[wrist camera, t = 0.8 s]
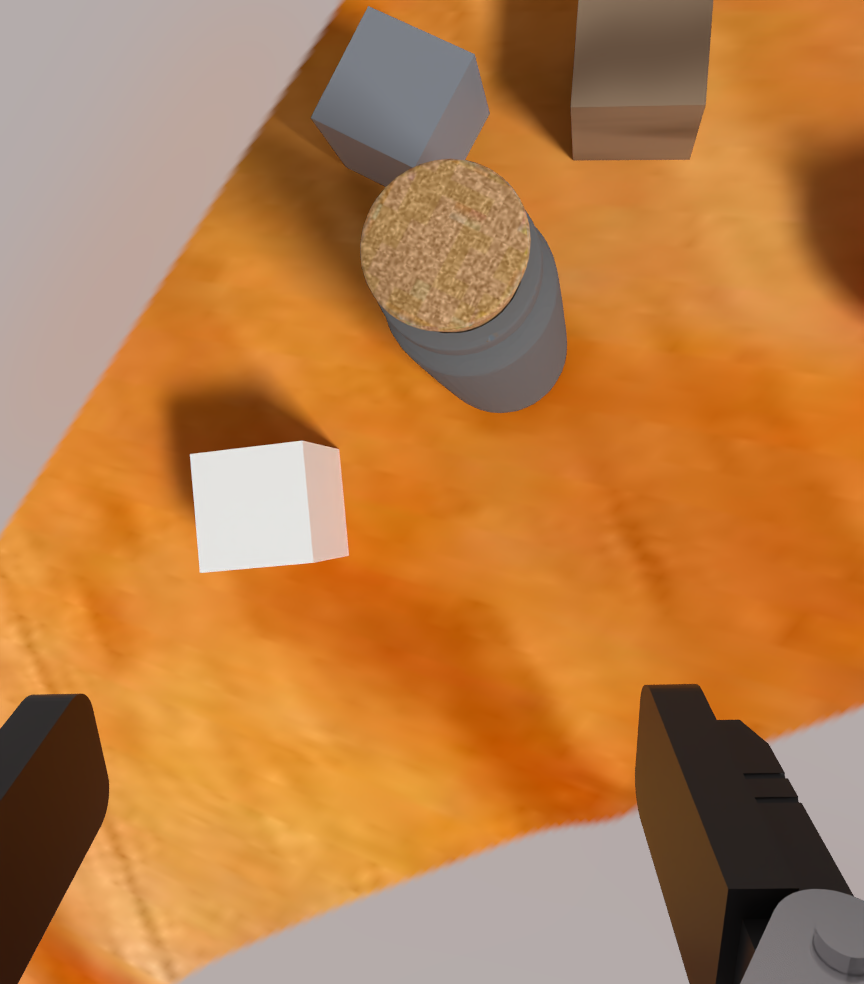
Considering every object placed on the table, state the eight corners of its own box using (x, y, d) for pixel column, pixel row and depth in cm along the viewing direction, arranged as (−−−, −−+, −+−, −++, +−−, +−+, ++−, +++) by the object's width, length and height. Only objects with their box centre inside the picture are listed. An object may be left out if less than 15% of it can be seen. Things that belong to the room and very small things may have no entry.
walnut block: (581, 49, 36) (579, -22, 31) (697, 46, 35) (715, -28, 30) (573, 161, 36) (570, 107, 31) (689, 160, 35) (705, 104, 30)
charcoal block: (397, 70, 38) (368, 6, 33) (489, 114, 37) (474, 54, 32) (346, 167, 38) (310, 117, 33) (436, 212, 38) (414, 168, 33)
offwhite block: (240, 461, 39) (189, 454, 34) (339, 449, 38) (302, 440, 33) (249, 564, 39) (200, 572, 34) (349, 555, 38) (313, 562, 33)
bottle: (412, 349, 37) (297, 247, 23) (505, 258, 37) (449, 91, 22) (498, 441, 37) (436, 396, 22) (595, 349, 36) (599, 240, 21)
